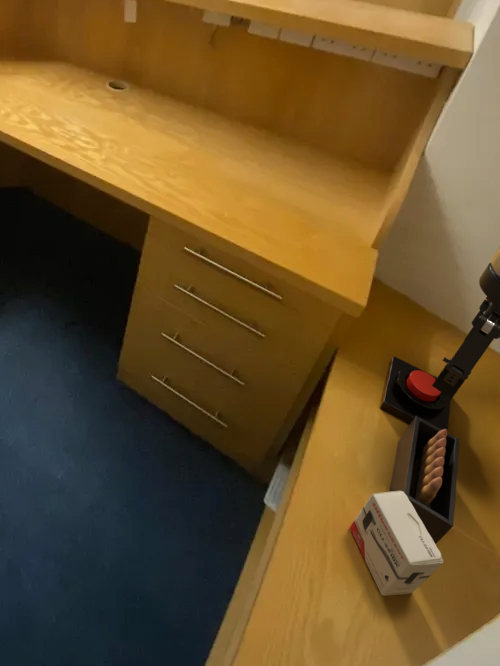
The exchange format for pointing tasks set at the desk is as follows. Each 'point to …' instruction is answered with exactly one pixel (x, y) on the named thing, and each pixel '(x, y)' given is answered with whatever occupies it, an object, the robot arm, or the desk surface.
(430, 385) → the button
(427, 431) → the box
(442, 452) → the ammunition clip
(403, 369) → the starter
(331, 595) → the desk surface
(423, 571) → the ink box
